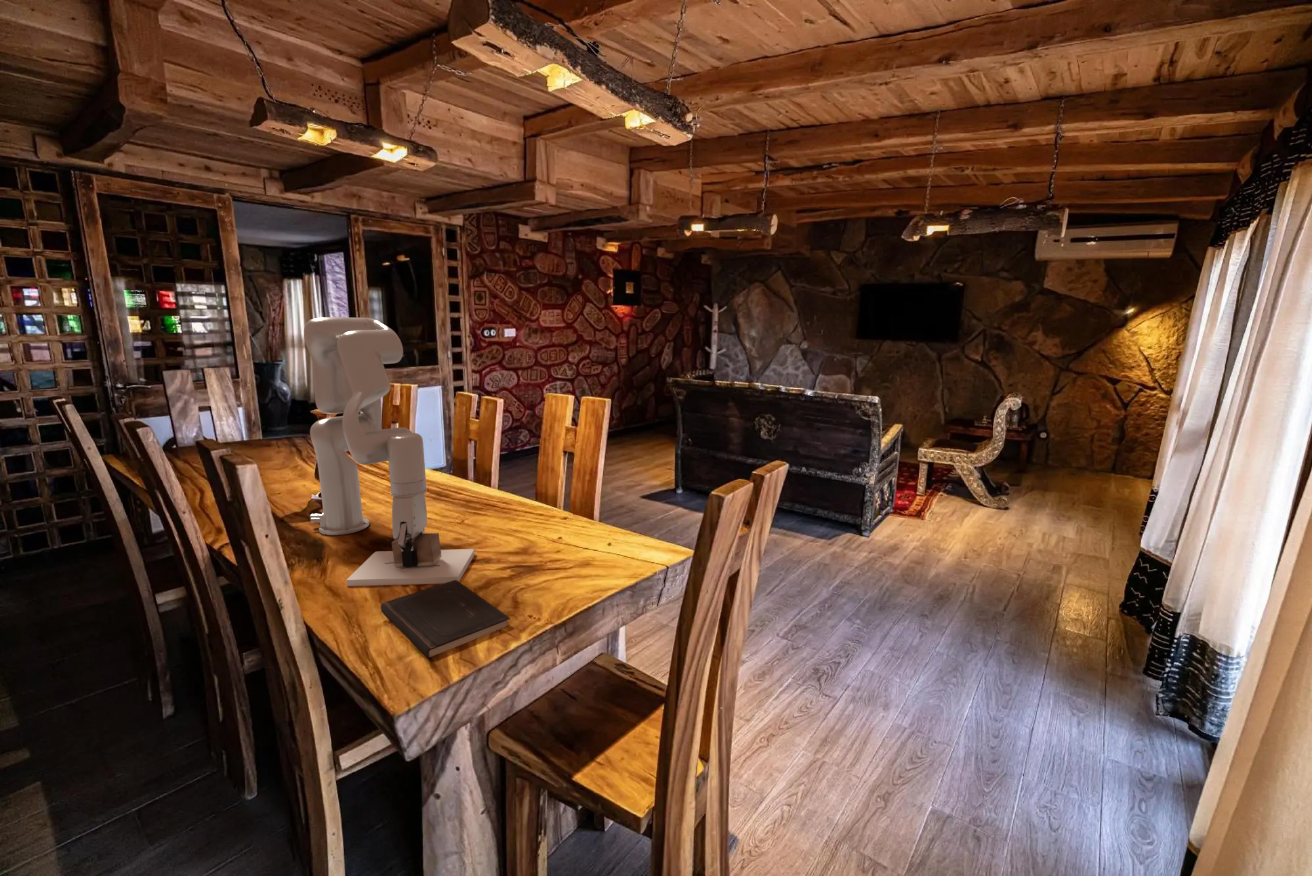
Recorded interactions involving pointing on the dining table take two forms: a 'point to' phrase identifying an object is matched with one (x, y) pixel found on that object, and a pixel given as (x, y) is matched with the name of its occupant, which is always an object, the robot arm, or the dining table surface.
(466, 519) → the dining table surface
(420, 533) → the robot arm
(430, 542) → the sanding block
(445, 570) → the board
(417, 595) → the hardcover book
